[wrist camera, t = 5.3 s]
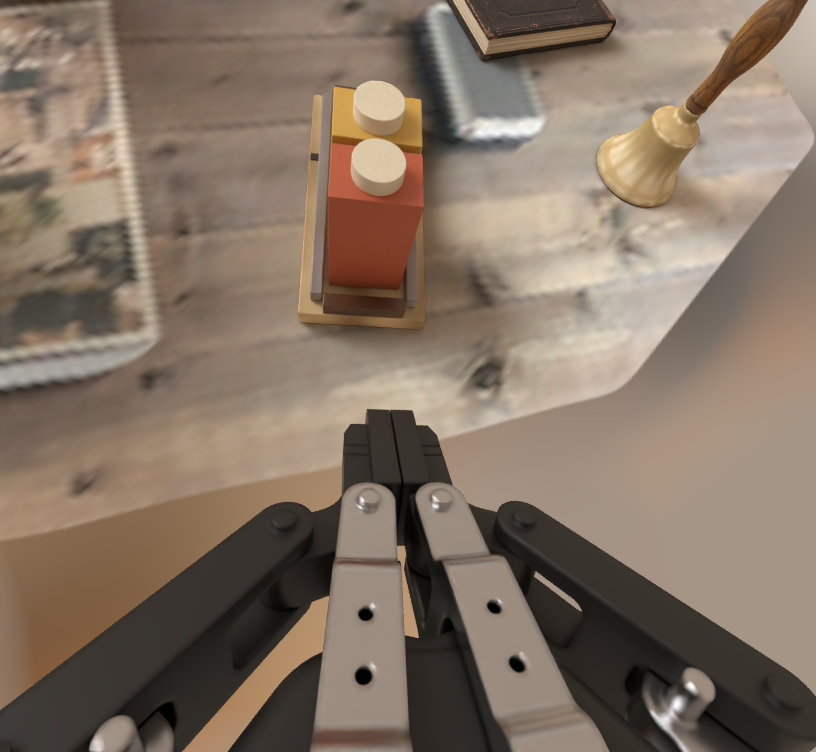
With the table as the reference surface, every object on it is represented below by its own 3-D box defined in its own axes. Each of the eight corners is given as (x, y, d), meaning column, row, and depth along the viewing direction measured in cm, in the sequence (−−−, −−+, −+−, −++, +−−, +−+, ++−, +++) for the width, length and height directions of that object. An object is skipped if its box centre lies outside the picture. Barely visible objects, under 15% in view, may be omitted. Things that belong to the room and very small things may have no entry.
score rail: (299, 322, 31) (296, 305, 28) (314, 110, 37) (313, 80, 34) (421, 329, 32) (429, 314, 30) (416, 124, 38) (423, 97, 36)
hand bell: (682, 211, 41) (888, 35, 26) (603, 203, 39) (774, 13, 24) (663, 142, 43) (841, -55, 28) (589, 133, 42) (735, -80, 27)
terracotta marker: (328, 284, 30) (327, 182, 21) (330, 242, 31) (330, 126, 22) (398, 290, 31) (428, 193, 21) (398, 248, 32) (426, 139, 22)
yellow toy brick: (331, 236, 31) (331, 118, 22) (333, 197, 32) (334, 68, 23) (398, 243, 32) (426, 132, 23) (398, 204, 33) (425, 82, 24)
